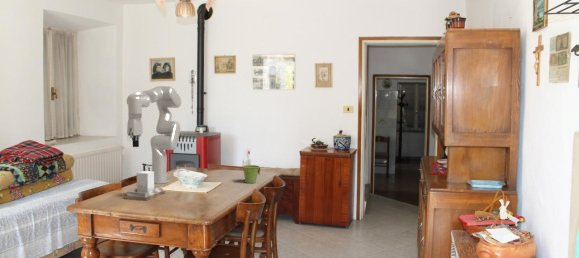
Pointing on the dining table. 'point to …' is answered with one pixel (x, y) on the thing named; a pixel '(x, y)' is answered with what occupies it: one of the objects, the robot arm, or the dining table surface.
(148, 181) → the supplement box
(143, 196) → the board
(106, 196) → the dining table surface
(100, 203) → the dining table surface
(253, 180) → the plant pot
